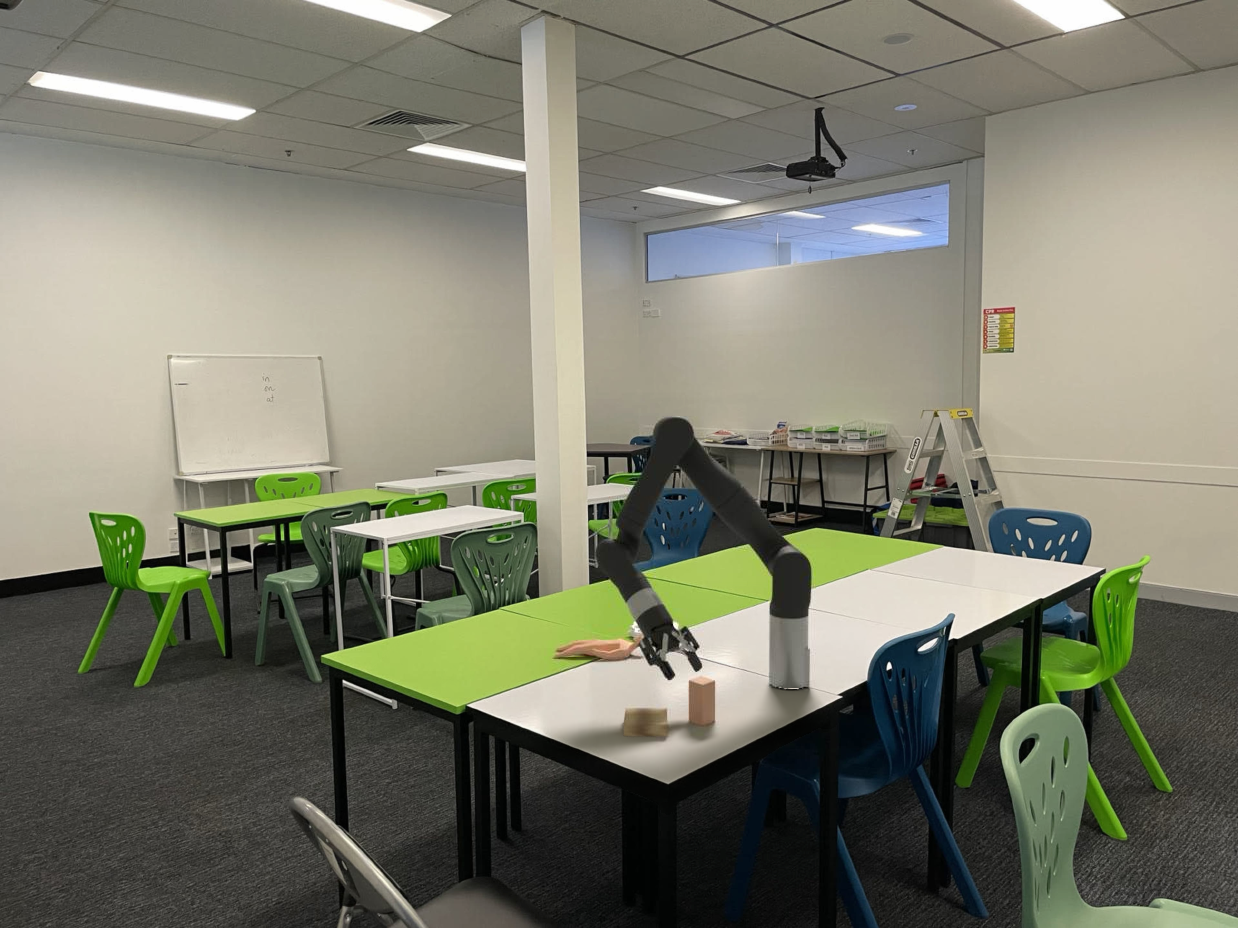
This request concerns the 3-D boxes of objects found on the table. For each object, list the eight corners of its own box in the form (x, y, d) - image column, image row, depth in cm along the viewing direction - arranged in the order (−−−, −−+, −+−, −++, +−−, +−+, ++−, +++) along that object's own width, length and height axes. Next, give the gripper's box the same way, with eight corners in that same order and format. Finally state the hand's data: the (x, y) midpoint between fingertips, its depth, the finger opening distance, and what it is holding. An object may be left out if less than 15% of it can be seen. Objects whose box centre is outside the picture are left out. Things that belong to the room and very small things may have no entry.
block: (701, 716, 189) (701, 676, 189) (715, 721, 186) (715, 680, 186) (688, 721, 187) (688, 680, 186) (702, 726, 184) (702, 684, 183)
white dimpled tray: (674, 646, 243) (623, 644, 245) (679, 628, 261) (631, 627, 263) (674, 634, 243) (622, 632, 245) (679, 617, 260) (631, 616, 263)
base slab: (667, 721, 187) (667, 708, 187) (667, 738, 178) (667, 724, 178) (625, 721, 188) (625, 708, 188) (623, 738, 179) (623, 723, 179)
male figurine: (556, 637, 240) (646, 630, 239) (558, 655, 240) (648, 647, 239) (552, 649, 229) (646, 641, 228) (553, 667, 230) (647, 659, 229)
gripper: (634, 608, 190) (671, 672, 182) (679, 598, 199) (717, 658, 192) (618, 627, 194) (654, 690, 187) (663, 616, 204) (699, 675, 196)
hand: (686, 674), depth 189 cm, fingers open, 8 cm apart
